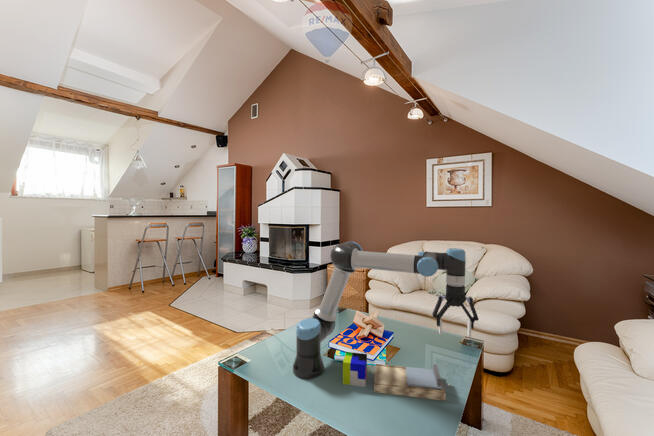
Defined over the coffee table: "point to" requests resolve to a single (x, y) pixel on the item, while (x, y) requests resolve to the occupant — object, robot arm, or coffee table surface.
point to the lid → (424, 377)
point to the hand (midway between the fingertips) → (454, 334)
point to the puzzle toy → (355, 369)
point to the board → (402, 384)
